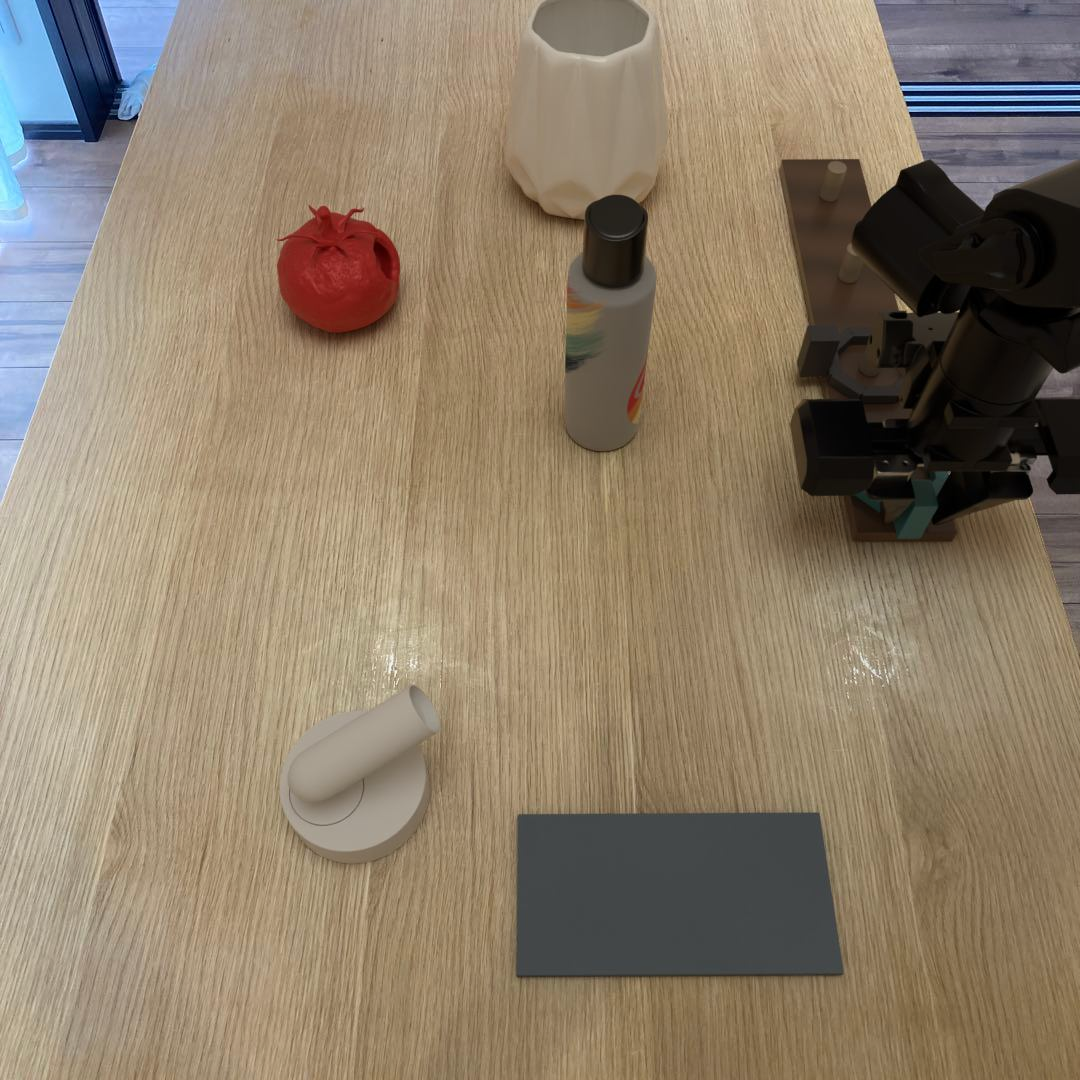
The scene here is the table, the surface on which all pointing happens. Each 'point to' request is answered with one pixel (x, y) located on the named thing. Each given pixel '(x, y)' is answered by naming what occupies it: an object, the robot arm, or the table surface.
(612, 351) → the lotion bottle
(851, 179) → the peg rack
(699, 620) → the table surface
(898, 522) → the ring teal
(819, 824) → the mat
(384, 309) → the pomegranate
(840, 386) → the ring charcoal
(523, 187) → the vase
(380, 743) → the wall hook
